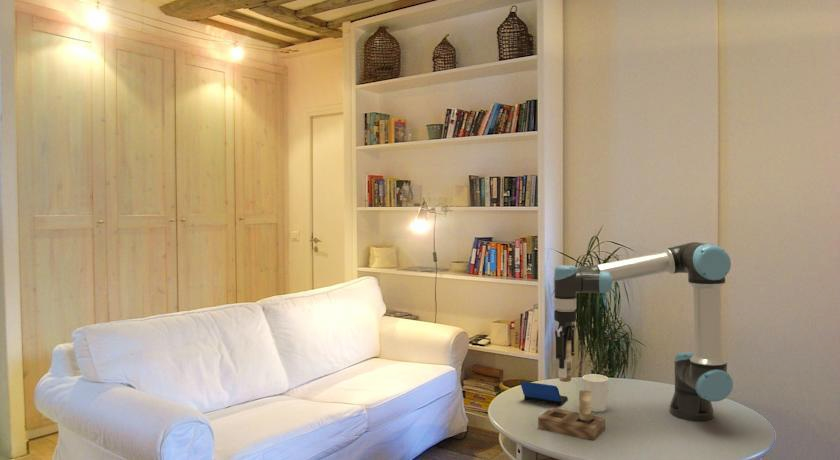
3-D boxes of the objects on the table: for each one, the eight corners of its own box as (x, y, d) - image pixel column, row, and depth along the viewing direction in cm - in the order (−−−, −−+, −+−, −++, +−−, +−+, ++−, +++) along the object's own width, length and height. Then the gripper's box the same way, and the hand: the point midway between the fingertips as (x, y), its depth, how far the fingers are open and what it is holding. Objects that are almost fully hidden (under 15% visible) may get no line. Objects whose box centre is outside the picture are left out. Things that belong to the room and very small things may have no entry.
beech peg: (573, 379, 213) (573, 340, 212) (568, 382, 210) (568, 342, 209) (561, 377, 215) (561, 338, 215) (557, 380, 212) (557, 341, 211)
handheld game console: (568, 400, 244) (568, 377, 244) (557, 410, 233) (557, 386, 233) (532, 394, 253) (532, 372, 252) (519, 403, 241) (519, 380, 241)
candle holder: (605, 404, 238) (605, 374, 237) (611, 412, 228) (611, 381, 227) (580, 403, 239) (580, 373, 238) (584, 412, 229) (584, 381, 228)
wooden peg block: (605, 429, 212) (605, 389, 211) (593, 440, 202) (593, 399, 202) (551, 418, 224) (551, 380, 223) (538, 428, 214) (537, 389, 213)
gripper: (563, 305, 221) (563, 368, 222) (545, 312, 206) (545, 379, 207) (584, 307, 216) (583, 371, 217) (566, 314, 202) (566, 383, 203)
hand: (565, 375), depth 212 cm, fingers closed on beech peg, 4 cm apart
